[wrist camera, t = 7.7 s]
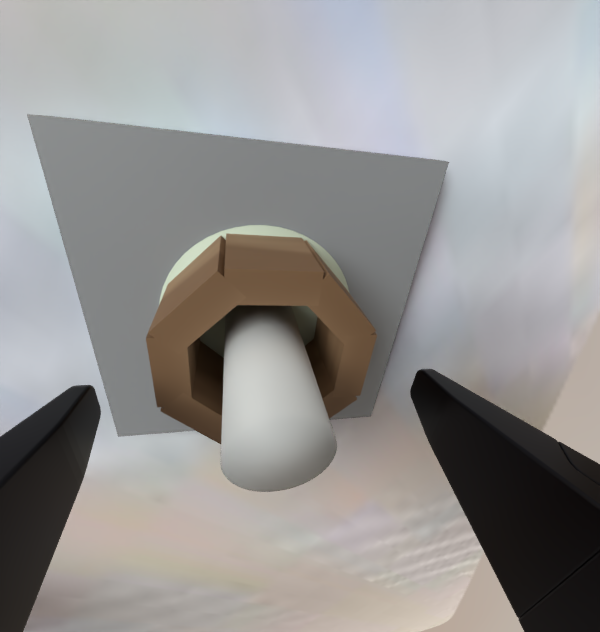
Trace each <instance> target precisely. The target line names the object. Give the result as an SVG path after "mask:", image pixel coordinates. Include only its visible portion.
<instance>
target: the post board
mask: <svg viewBox="0 0 600 632" xmlns="http://www.w3.org/2000/svg"><path fill="white" fill-rule="evenodd" d="M27 116H28V119H29V123H30V126H31V130H32V134H33V137H34V141H35V144H36V148H37V151H38V155H39V158H40V162H41V165H42V169H43V172H44V176H45V179H46V183H47V187H48V190H49V194H50V197H51V201H52V204H53V208H54V211H55V215H56V218H57V222H58V225H59V229H60V233H61V236H62V240H63V243H64V247H65V250H66V254H67V257H68V261H69V264H70V268H71V271H72V275H73V278H74V282H75V286H76V289H77V293H78V296H79V300H80V303H81V307H82V310H83V314H84V317H85V321H86V324H87V328H88V332H89V335H90V339H91V342H92V346H93V349H94V353H95V356H96V360H97V363H98V367H99V370H100V374H101V377H102V381H103V385H104V388H105V392H106V395H107V399H108V402H109V406H110V409H111V413H112V416H113V420H114V423H115V427H116V430H117V434H118V437H119V436H132V435H144V434H157V433H169V432H182V431H194V429H192V428H190V427H188V426H186V425H185V424H183V423H181V422H179V421H177V420H175V419H174V418H172V417H170V416H168V415H166V414H164V413H163V412H161V411H160V410H161V407H157V404H156V398H155V392H154V386H153V380H152V373H151V367H150V361H149V355H148V349H147V343H146V336H147V334H148V331H149V329H150V326H151V324H152V321H153V319H154V317H155V314H156V312H157V309H158V307H159V304H160V302H161V300H162V297H163V295H164V292H165V290H166V287H167V285H168V283H169V282H171V281H172V280H173V279H174V278H175V277H176V276H177V275H178V274H179V273H180V272H181V271H183V270H184V269H185V268H186V267H187V266H188V265H189V264H190V263H191V262H192V261H193V260H195V259H196V258H197V257H198V256H199V255H200V254H201V253H202V252H203V251H204V250H205V249H207V248H208V247H209V246H210V245H211V244H212V243H213V242H214V241H215V240H216V239H217V238H218V237H220V236H222V237H223V238H224V239H225V240H226V233H228V234H245V235H263V236H280V237H298V238H302V239H303V240H304V241H306V240H307V241H308V243H309V244H310V245H311V246H312V248H313V249H314V250H315V251H316V252H317V254H318V255H319V256H320V257H321V258H322V260H323V261H324V262H325V263H326V265H327V266H328V267H329V268H330V269H331V271H332V272H333V273H334V274H335V276H336V277H337V278H338V279H339V280H340V282H341V283H342V284H343V285H344V286H345V288H346V289H347V290H348V292H349V293H350V295H351V296H352V297H353V299H354V300H355V302H356V303H357V304H358V306H359V307H360V309H361V310H362V311H363V313H364V314H365V316H366V317H367V318H368V320H369V321H370V322H371V324H372V325H373V327H374V328H375V329H376V331H375V333H376V334H377V338H376V341H375V345H374V349H373V352H372V356H371V359H370V363H369V366H368V370H367V373H366V377H365V381H364V384H363V388H362V391H361V395H360V396H356V397H357V400H356V401H354V402H353V403H351V404H350V405H348V406H347V407H346V408H344V409H343V410H341V411H340V412H338V413H337V414H335V415H334V416H332V417H331V418H330V419H329V417H328V414H327V411H326V408H325V405H324V402H323V399H322V396H321V393H320V390H319V387H318V384H317V381H316V378H315V375H314V372H313V369H312V366H311V363H310V361H309V358H308V355H307V352H306V349H305V345H307V344H308V343H309V342H311V341H312V340H313V339H314V335H315V329H316V323H317V317H318V316H317V315H316V314H315V313H314V312H313V311H312V310H311V309H310V308H309V307H308V306H277V305H237V306H236V307H235V308H233V309H232V310H231V311H230V312H229V313H228V314H226V315H225V316H224V317H223V318H222V319H220V320H219V321H218V322H217V323H216V324H214V325H213V326H212V327H211V328H210V329H209V330H207V331H206V332H205V333H204V334H203V335H201V336H200V341H201V342H203V343H204V344H205V345H207V346H208V347H209V348H211V349H212V350H214V351H215V352H216V353H218V354H219V355H220V356H222V357H223V358H224V375H223V405H222V435H221V469H222V471H223V474H224V475H225V477H226V478H227V479H228V480H229V481H230V482H232V483H233V484H235V485H237V486H239V487H241V488H244V489H247V490H252V491H260V492H272V491H280V490H285V489H290V488H293V487H296V486H299V485H301V484H304V483H306V482H308V481H310V480H311V479H313V478H315V477H316V476H318V475H319V474H320V473H322V472H323V471H324V470H325V469H326V468H327V467H328V466H329V464H330V463H331V462H332V460H333V458H334V456H335V453H336V449H337V442H336V438H335V435H334V432H333V429H332V426H331V423H330V420H331V419H343V418H355V417H368V416H371V414H372V411H373V408H374V404H375V401H376V398H377V395H378V391H379V388H380V385H381V382H382V378H383V375H384V372H385V369H386V365H387V362H388V359H389V356H390V352H391V349H392V346H393V343H394V339H395V336H396V333H397V330H398V326H399V323H400V320H401V316H402V313H403V310H404V307H405V303H406V300H407V297H408V294H409V290H410V287H411V284H412V281H413V277H414V274H415V271H416V268H417V264H418V261H419V258H420V255H421V251H422V248H423V245H424V242H425V238H426V235H427V232H428V228H429V225H430V222H431V219H432V215H433V212H434V209H435V206H436V202H437V199H438V196H439V193H440V189H441V186H442V183H443V180H444V176H445V173H446V170H447V167H448V163H449V162H446V161H440V160H433V159H424V158H415V157H406V156H398V155H389V154H380V153H371V152H362V151H353V150H345V149H336V148H327V147H318V146H309V145H300V144H292V143H283V142H274V141H265V140H256V139H247V138H239V137H230V136H221V135H212V134H203V133H194V132H185V131H177V130H168V129H159V128H150V127H141V126H132V125H124V124H115V123H106V122H97V121H88V120H79V119H71V118H62V117H53V116H42V115H28V114H27Z"/></svg>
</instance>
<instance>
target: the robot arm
mask: <svg viewBox="0 0 600 632" xmlns="http://www.w3.org/2000/svg"><path fill="white" fill-rule="evenodd" d="M410 393H411V398H412V400H413V403H414V406H415V408H416V411H417V413H418V416H419V418H420V421H421V424H422V426H423V429H424V431H425V434H426V436H427V439H428V441H429V443H430V445H431V447H432V450H433V451H434V453H435V455H436V457H437V459H438V461H439V463H440V465H441V467H442V469H443V471H444V473H445V475H446V477H447V479H448V481H449V483H450V485H451V487H452V489H453V491H454V493H455V495H456V497H457V499H458V501H459V503H460V505H461V507H462V509H463V511H464V513H465V515H466V517H467V519H468V521H469V523H470V525H471V527H472V529H473V531H474V532H475V534H476V536H477V538H478V540H479V542H480V544H481V546H482V548H483V550H484V552H485V554H486V556H487V558H488V560H489V562H490V564H491V566H492V568H493V570H494V572H495V574H496V575H497V578H498V580H499V582H500V584H501V586H502V588H503V590H504V592H505V594H506V596H507V598H508V600H509V601H510V604H511V605H512V608H513V609H514V611H515V613H516V615H517V617H518V618H519V621H520V624H521V626H522V628H523V630H524V632H600V464H598V463H597V462H595V461H593V460H591V459H589V458H587V457H586V456H584V455H582V454H580V453H578V452H577V451H575V450H573V449H571V448H570V447H568V446H566V445H564V444H563V443H561V442H557V440H555V439H554V438H552V437H550V436H549V435H547V434H545V433H543V432H542V431H540V430H538V429H536V428H535V427H533V426H531V425H529V424H528V423H526V422H524V421H522V420H521V419H519V418H517V417H515V416H514V415H512V414H510V413H508V412H507V411H505V410H503V409H501V408H500V407H498V406H496V405H494V404H493V403H491V402H489V401H487V400H486V399H484V398H482V397H480V396H479V395H477V394H475V393H473V392H472V391H470V390H468V389H466V388H465V387H463V386H461V385H459V384H458V383H456V382H454V381H452V380H451V379H449V378H447V377H445V376H443V375H442V374H440V373H438V372H436V371H435V370H433V369H421V370H419V371H418V372H417V373H416V376H415V379H414V381H413V384H412V387H411V391H410ZM100 415H101V410H100V405H99V402H98V399H97V396H96V392H95V389H94V387H93V386H91V385H78V386H72V387H71V388H69V389H67V390H66V391H65V392H63V393H62V394H60V395H59V396H58V397H56V398H55V399H53V400H52V401H50V402H49V403H48V404H46V405H45V406H43V407H42V408H40V409H39V410H38V411H36V412H35V413H33V414H32V415H31V416H29V417H28V418H26V419H25V420H23V421H22V422H21V423H19V424H18V425H16V426H15V427H13V428H12V429H11V430H9V431H8V432H6V433H5V434H3V435H2V436H1V437H0V632H23V630H24V628H25V625H26V623H27V620H28V618H29V615H30V613H31V610H32V608H33V605H34V603H35V600H36V598H37V595H38V593H39V590H40V587H41V585H42V582H43V580H44V577H45V575H46V572H47V570H48V567H49V565H50V562H51V560H52V557H53V555H54V552H55V550H56V547H57V544H58V542H59V539H60V537H61V534H62V532H63V529H64V527H65V524H66V522H67V519H68V517H69V514H70V512H71V509H72V507H73V504H74V501H75V499H76V496H77V494H78V491H79V489H80V486H81V483H82V481H83V478H84V475H85V471H86V468H87V464H88V461H89V457H90V453H91V450H92V446H93V442H94V438H95V435H96V431H97V427H98V424H99V420H100Z"/></svg>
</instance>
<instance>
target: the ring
mask: <svg viewBox="0 0 600 632" xmlns="http://www.w3.org/2000/svg"><path fill="white" fill-rule="evenodd" d="M237 305H277V306H308V307H309V308H310V309H311V310H312V311H313V312H314V313H315V314H316V315H317V316H318V317H317V323H316V329H315V335H314V339H313V340H312V341H311V342H309V343H308V344H307V345H305V349H306V352H307V355H308V358H309V361H310V363H311V366H312V369H313V372H314V375H315V378H316V381H317V384H318V387H319V390H320V393H321V396H322V399H323V402H324V405H325V408H326V411H327V414H328V417H329V419H330V418H331V417H332V416H334V415H335V414H337V413H338V412H340V411H341V410H343V409H344V408H346V407H347V406H348V405H350V404H351V403H353V402H354V401H356V400H357V397H356V396H360V395H361V391H362V388H363V384H364V381H365V377H366V373H367V370H368V366H369V363H370V359H371V356H372V352H373V349H374V345H375V341H376V338H377V334H376V333H375V331H376V329H375V328H374V327H373V325H372V324H371V322H370V321H369V320H368V318H367V317H366V316H365V314H364V313H363V311H362V310H361V309H360V307H359V306H358V304H357V303H356V302H355V300H354V299H353V297H352V296H351V295H350V293H349V292H348V290H347V289H346V288H345V286H344V285H343V284H342V283H341V282H340V280H339V279H338V278H337V277H336V276H335V274H334V273H333V272H332V271H331V269H330V268H329V267H328V266H327V265H326V263H325V262H324V261H323V260H322V258H321V257H320V256H319V255H318V254H317V252H316V251H315V250H314V249H313V248H312V246H311V245H310V244H309V243H308V241H307V240H306V241H304V240H303V239H302V238H298V237H280V236H263V235H245V234H228V233H226V240H225V239H224V238H223V237H222V236H220V237H218V238H217V239H216V240H215V241H214V242H213V243H212V244H211V245H210V246H209V247H208V248H207V249H205V250H204V251H203V252H202V253H201V254H200V255H199V256H198V257H197V258H196V259H195V260H193V261H192V262H191V263H190V264H189V265H188V266H187V267H186V268H185V269H184V270H183V271H181V272H180V273H179V274H178V275H177V276H176V277H175V278H174V279H173V280H172V281H171V282H169V283H168V285H167V287H166V290H165V292H164V295H163V297H162V300H161V302H160V304H159V307H158V309H157V312H156V314H155V317H154V319H153V321H152V324H151V326H150V329H149V331H148V334H147V336H146V343H147V349H148V355H149V361H150V367H151V373H152V380H153V386H154V392H155V398H156V404H157V407H161V410H160V411H161V412H163V413H164V414H166V415H168V416H170V417H172V418H174V419H175V420H177V421H179V422H181V423H183V424H185V425H186V426H188V427H190V428H192V429H194V430H196V431H197V432H199V433H201V434H203V435H205V436H207V437H208V438H210V439H212V440H214V441H216V442H218V443H220V444H221V435H222V405H223V375H224V358H223V357H222V356H220V355H219V354H218V353H216V352H215V351H214V350H212V349H211V348H209V347H208V346H207V345H205V344H204V343H203V342H201V341H200V336H201V335H203V334H204V333H205V332H206V331H207V330H209V329H210V328H211V327H212V326H213V325H214V324H216V323H217V322H218V321H219V320H220V319H222V318H223V317H224V316H225V315H226V314H228V313H229V312H230V311H231V310H232V309H233V308H235V307H236V306H237Z"/></svg>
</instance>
